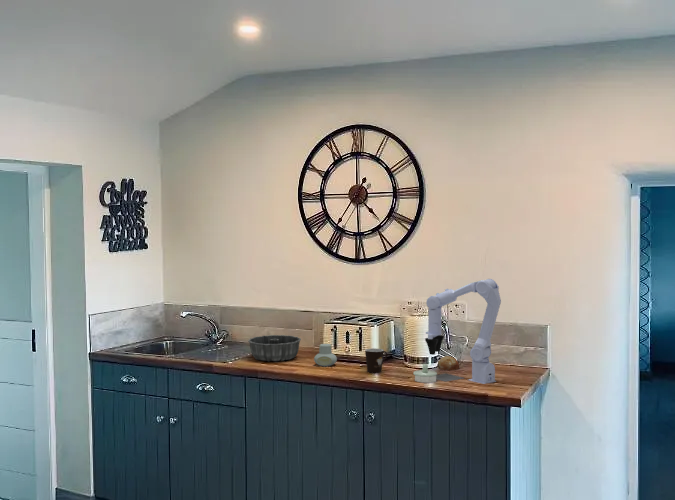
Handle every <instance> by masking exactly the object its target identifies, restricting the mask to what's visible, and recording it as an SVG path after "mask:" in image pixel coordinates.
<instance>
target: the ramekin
mask: <svg viewBox="0 0 675 500" xmlns="http://www.w3.org/2000/svg"><path fill="white" fill-rule="evenodd" d="M414 382H418V383H423V384H424V383H426V384H427V383H430V384H431V383H436V382H437V379H436V376H432V377H421V376H416V375H414Z"/></svg>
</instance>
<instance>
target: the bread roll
mask: <svg viewBox="0 0 675 500" xmlns="http://www.w3.org/2000/svg"><path fill="white" fill-rule="evenodd" d="M437 369H439V370H442V371H455V370H459V369H460V363H459V362H458V359H456V358H455V357H453V356H450V355H445V356H443V357H441V358H440V359H439V360H438V362H437Z"/></svg>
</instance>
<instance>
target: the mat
mask: <svg viewBox="0 0 675 500" xmlns="http://www.w3.org/2000/svg"><path fill="white" fill-rule="evenodd" d="M463 379H465V377H463V376H459V375H454V374H450V373H447V372H446V373H440V374H437V375H436V381H441V382H451V381H452V382H453V381H457V380H463Z"/></svg>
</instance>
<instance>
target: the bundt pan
mask: <svg viewBox="0 0 675 500" xmlns="http://www.w3.org/2000/svg"><path fill="white" fill-rule="evenodd" d="M247 341H248V343H249V347H250V353H251V356H253V357H254V359H255V360H257V361H263V362H266V361H267V362H268V363H270V362H272V361H273V362H279V361H280V362H284V361H290V360H292V359H295V358H296V357H297V355H298V353H299V349H300V348H299V347H300V342H301V341H302V338H300V337H299V336H294V335H285V334H271V335H262V336H254V337H251V338H249V339H248V340H247Z"/></svg>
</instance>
